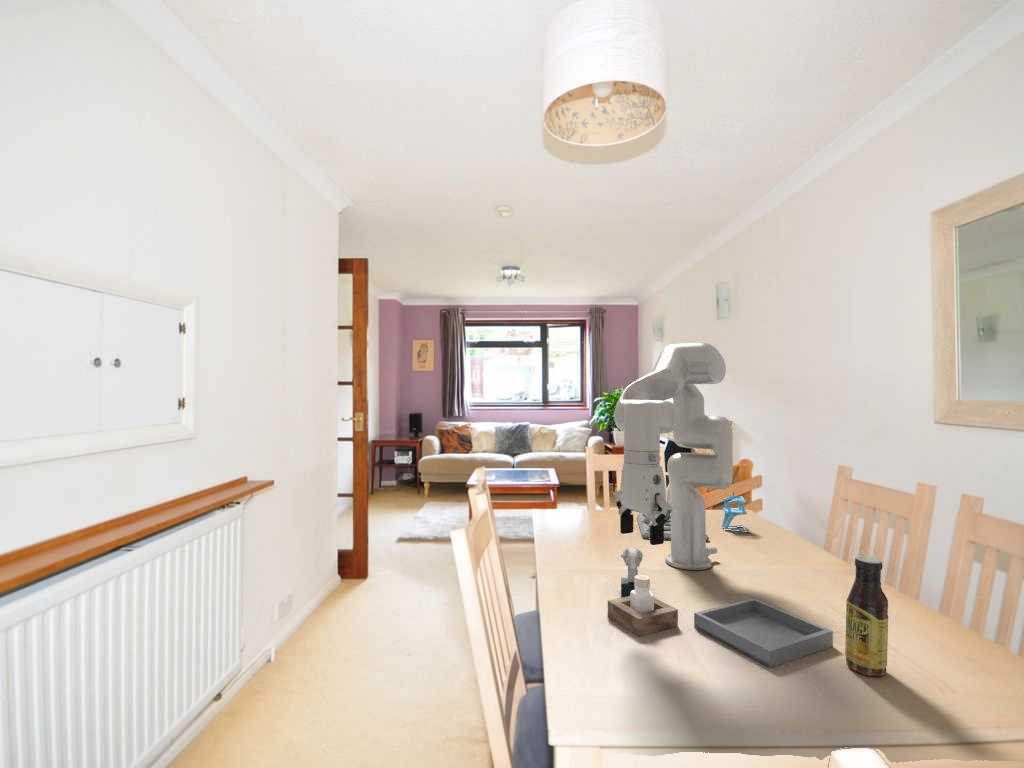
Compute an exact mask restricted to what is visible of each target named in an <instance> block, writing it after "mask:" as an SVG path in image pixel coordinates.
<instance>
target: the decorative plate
mask: <svg viewBox="0 0 1024 768" xmlns="http://www.w3.org/2000/svg"><path fill="white" fill-rule="evenodd" d="M636 516H637V517H636V520H637V523H638V526H639V530H640V534H641V537H643V538H644V539H645V538H650V525H653V524H652V522H651V520H650V518H649V516H648V514H643V513H640V512H638V514H637V515H636ZM669 516H670V517H669V519H668V520H667V522H666V525H664V539H671V514H670V515H669ZM655 517H656V518H657V517H658V516H657V515H655ZM707 540H708V541H709V540H710V537H709V536H708V534H706V542H708V541H707Z"/></svg>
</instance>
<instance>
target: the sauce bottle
mask: <svg viewBox="0 0 1024 768" xmlns="http://www.w3.org/2000/svg"><path fill="white" fill-rule="evenodd" d="M854 566H855V577H854V582H853V584H852V586H851V589H850V592H849V593H848V596H847V598H846V604H845V605H846V610H845V615H846V616H845V640H844V641H845V643H844V645H845V648H844V653H845V661H846V664H847V666H848V668H850V670H853V671H855V672H857V673H859V674H861V675H863V676H870V677H882V676H884V675H885V674H886V673H887V667H888V643H889V642H888V641H889V636H888V635H889V615H888V614H889V613H888V612H889V610H888V609H889V600H888V597H887V596H886V594H885V593H884V590H883V589H882V581H881V579H882V574H881V573H882V572H881V571H882V570H883V561H882V560H881V559H879V558H877V557H873V556H868V555H856V556H855V557H854Z"/></svg>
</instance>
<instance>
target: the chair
mask: <svg viewBox="0 0 1024 768" xmlns="http://www.w3.org/2000/svg"><path fill="white" fill-rule="evenodd" d="M722 500H723V503H724V507H722V511H723V512H724V517H723V520H722V523H721V528H722V527H724V529H731V530H739V531H750V532H751V530H750V529H749V528H748V527H747V526H745V524H731V522H732V521H733V519H734V518H735V517H737V516H741V515H748V512H747V511H746V510H745V507H746V506H745V505H746V502H747V501H746V498H744V497H743V496H742V495H740V496H739V495H731V496H728V497H726V498H723V499H722ZM735 503H737V507H734V508H733V507H731V504H735ZM741 505H742V506H741ZM737 526H743V527H744V528H745V529H746V530H745V529H744V528H728V527H737Z"/></svg>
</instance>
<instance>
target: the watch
mask: <svg viewBox="0 0 1024 768" xmlns="http://www.w3.org/2000/svg"><path fill="white" fill-rule="evenodd" d="M643 555H644V554H643V552H642V551H641V550H640V549H639V548H636V547H627V548H625V549H624V550H623V551H622V553H621V555H620V558H622V559H623V562H624V563H625V566H626V567H627V577H620V580H621V581H620V598H622V597H627V596H630V592H631V591H632V590H635V586H634V577H635V576H636V575H639V573H638V572H639V570H638V568H639V567H640V565H641V563H642V561H643Z"/></svg>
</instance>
